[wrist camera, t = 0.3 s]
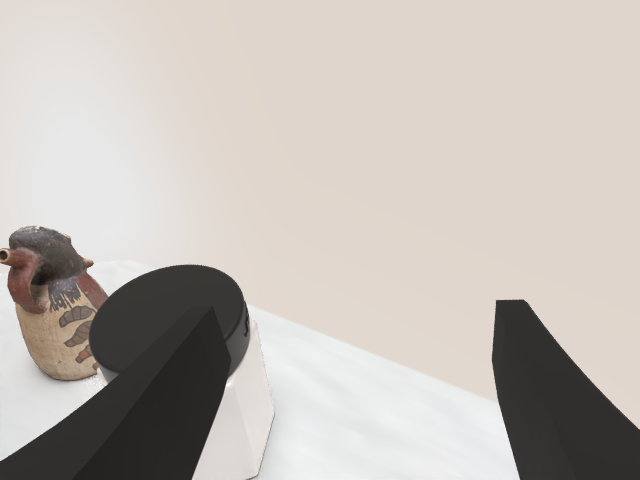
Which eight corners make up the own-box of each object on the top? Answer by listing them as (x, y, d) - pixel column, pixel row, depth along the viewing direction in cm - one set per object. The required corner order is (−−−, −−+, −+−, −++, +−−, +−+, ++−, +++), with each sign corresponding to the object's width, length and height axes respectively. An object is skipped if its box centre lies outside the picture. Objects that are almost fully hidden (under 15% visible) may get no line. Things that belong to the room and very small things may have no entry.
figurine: (146, 322, 41) (100, 207, 34) (96, 390, 36) (28, 269, 29) (77, 310, 43) (19, 198, 36) (20, 374, 38) (-63, 256, 30)
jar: (300, 428, 32) (281, 302, 25) (208, 531, 27) (151, 411, 20) (215, 364, 37) (179, 243, 30) (124, 442, 32) (54, 320, 25)
